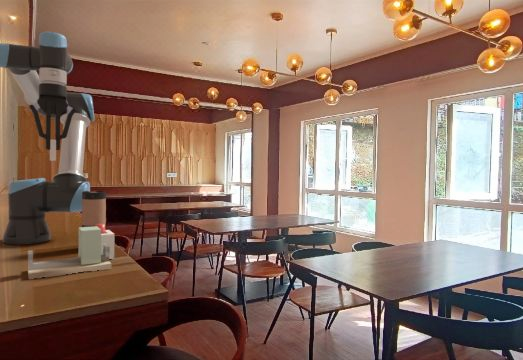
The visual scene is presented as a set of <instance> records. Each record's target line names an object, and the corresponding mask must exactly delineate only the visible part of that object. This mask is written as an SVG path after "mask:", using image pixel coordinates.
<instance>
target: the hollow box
mask: <svg viewBox="0 0 523 360" xmlns="http://www.w3.org/2000/svg"><path fill="white" fill-rule="evenodd" d="M103 244H108V245H109V246H110V257H109V259H112V260H115V232H112V231H111V230H110V229H106V230H105V234H101V255H104V254H103Z"/></svg>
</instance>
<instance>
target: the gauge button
mask: <svg viewBox="0 0 523 360" xmlns="http://www.w3.org/2000/svg"><path fill="white" fill-rule="evenodd" d="M95 226H97V227H99V228H100V229H101V234H105V224H95Z"/></svg>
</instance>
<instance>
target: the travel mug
mask: <svg viewBox="0 0 523 360" xmlns="http://www.w3.org/2000/svg"><path fill="white" fill-rule="evenodd" d="M106 196H107V192H106V191H105V190H95V191H90V192H89V191H83V192H82V211H81V227H94V226H95V224H105V230H107V229H106V225H107V224H106V222H107V217H106V216H107V215H106V213H107V212H106V211H107V204H106V202H107V201H106V200H107V199H106V198H107V197H106Z"/></svg>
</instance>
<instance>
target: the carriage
mask: <svg viewBox="0 0 523 360" xmlns="http://www.w3.org/2000/svg"><path fill="white" fill-rule="evenodd" d="M77 255H78V256H77V257H80V258H81V265H86V264H94V263H101V229H100V228H99V227H97V226H94V227H82V226H81V227H78V254H77Z"/></svg>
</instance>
